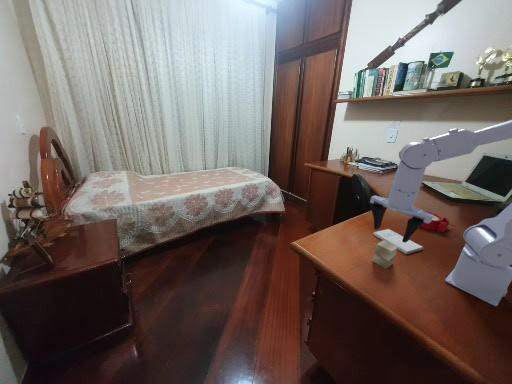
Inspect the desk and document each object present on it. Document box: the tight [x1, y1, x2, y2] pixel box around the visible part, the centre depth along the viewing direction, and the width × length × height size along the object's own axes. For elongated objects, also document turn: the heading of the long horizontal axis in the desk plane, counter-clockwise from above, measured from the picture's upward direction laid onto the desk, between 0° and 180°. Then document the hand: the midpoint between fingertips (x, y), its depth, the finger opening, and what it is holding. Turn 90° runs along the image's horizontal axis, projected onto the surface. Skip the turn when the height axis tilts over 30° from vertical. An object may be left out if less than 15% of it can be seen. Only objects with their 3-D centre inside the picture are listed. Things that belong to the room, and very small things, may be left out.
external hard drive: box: [372, 228, 424, 255], centre depth 72 cm, size 2×8×12 cm
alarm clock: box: [406, 211, 458, 233], centre depth 84 cm, size 10×6×15 cm
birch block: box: [372, 240, 398, 269], centre depth 61 cm, size 4×4×6 cm
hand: (390, 234), depth 59 cm, fingers open, 7 cm apart
